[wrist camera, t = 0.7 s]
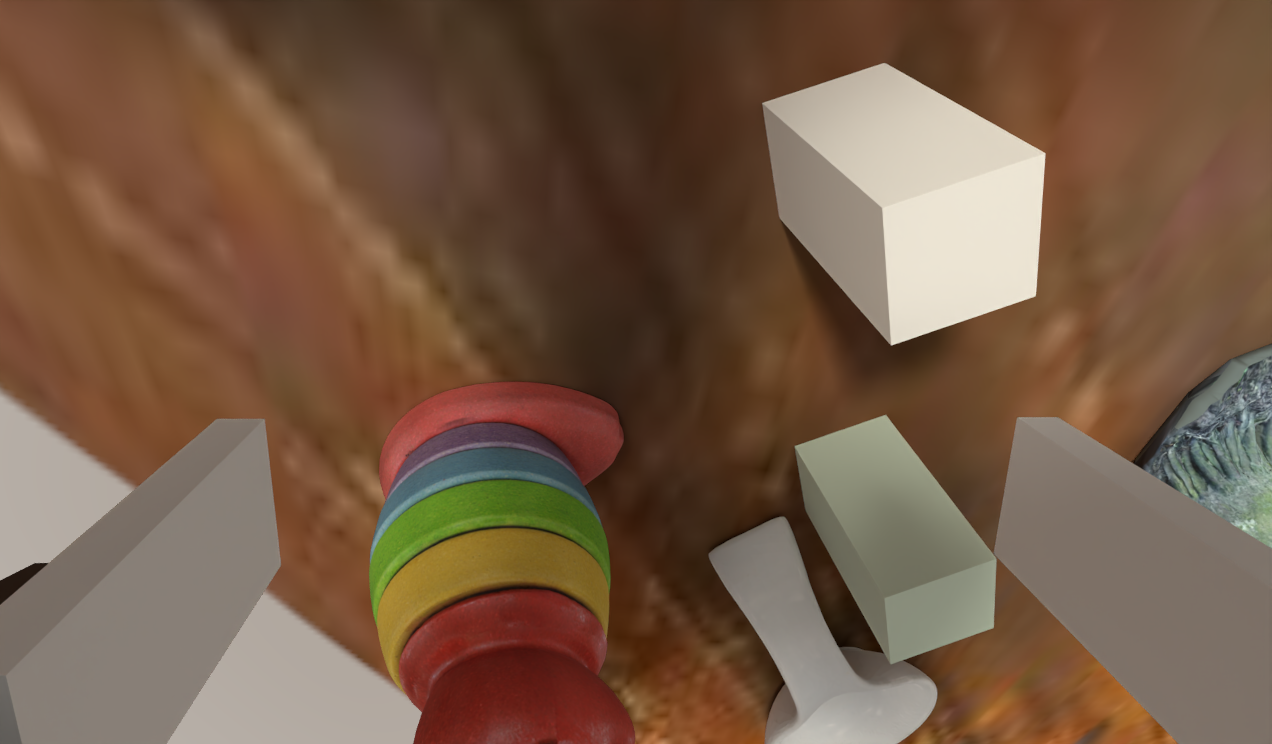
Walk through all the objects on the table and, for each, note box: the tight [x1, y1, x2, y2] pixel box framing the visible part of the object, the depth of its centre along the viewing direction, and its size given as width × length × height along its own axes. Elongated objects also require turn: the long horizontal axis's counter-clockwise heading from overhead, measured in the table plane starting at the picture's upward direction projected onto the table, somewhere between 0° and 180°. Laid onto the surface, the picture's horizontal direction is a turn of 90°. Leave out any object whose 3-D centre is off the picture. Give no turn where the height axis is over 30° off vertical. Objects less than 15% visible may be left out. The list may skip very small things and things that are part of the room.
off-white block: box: [762, 63, 1045, 345], centre depth 29 cm, size 5×5×10 cm
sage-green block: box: [795, 415, 996, 665], centre depth 40 cm, size 5×5×10 cm
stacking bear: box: [369, 382, 636, 744], centre depth 31 cm, size 11×10×18 cm
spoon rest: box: [709, 517, 937, 744], centre depth 49 cm, size 24×12×7 cm, turn 27°
